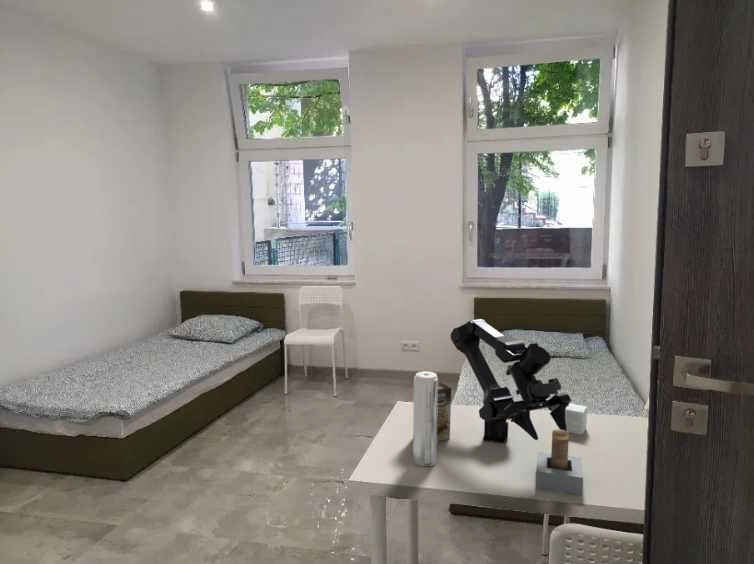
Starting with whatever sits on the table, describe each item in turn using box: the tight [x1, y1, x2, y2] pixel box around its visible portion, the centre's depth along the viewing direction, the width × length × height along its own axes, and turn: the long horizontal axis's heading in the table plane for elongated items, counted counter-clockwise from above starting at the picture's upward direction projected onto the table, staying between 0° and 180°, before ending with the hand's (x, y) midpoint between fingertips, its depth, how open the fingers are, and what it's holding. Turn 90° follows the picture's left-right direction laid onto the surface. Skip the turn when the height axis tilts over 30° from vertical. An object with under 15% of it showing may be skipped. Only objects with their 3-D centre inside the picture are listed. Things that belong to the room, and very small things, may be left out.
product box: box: [565, 402, 588, 436], centre depth 172 cm, size 6×6×7 cm
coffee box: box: [437, 381, 452, 442], centre depth 166 cm, size 9×6×16 cm
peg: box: [550, 428, 570, 471], centre depth 141 cm, size 4×4×13 cm
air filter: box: [412, 371, 439, 467], centre depth 151 cm, size 6×6×25 cm
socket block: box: [535, 451, 584, 496], centre depth 142 cm, size 11×11×4 cm
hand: (551, 436), depth 144 cm, fingers open, 9 cm apart
